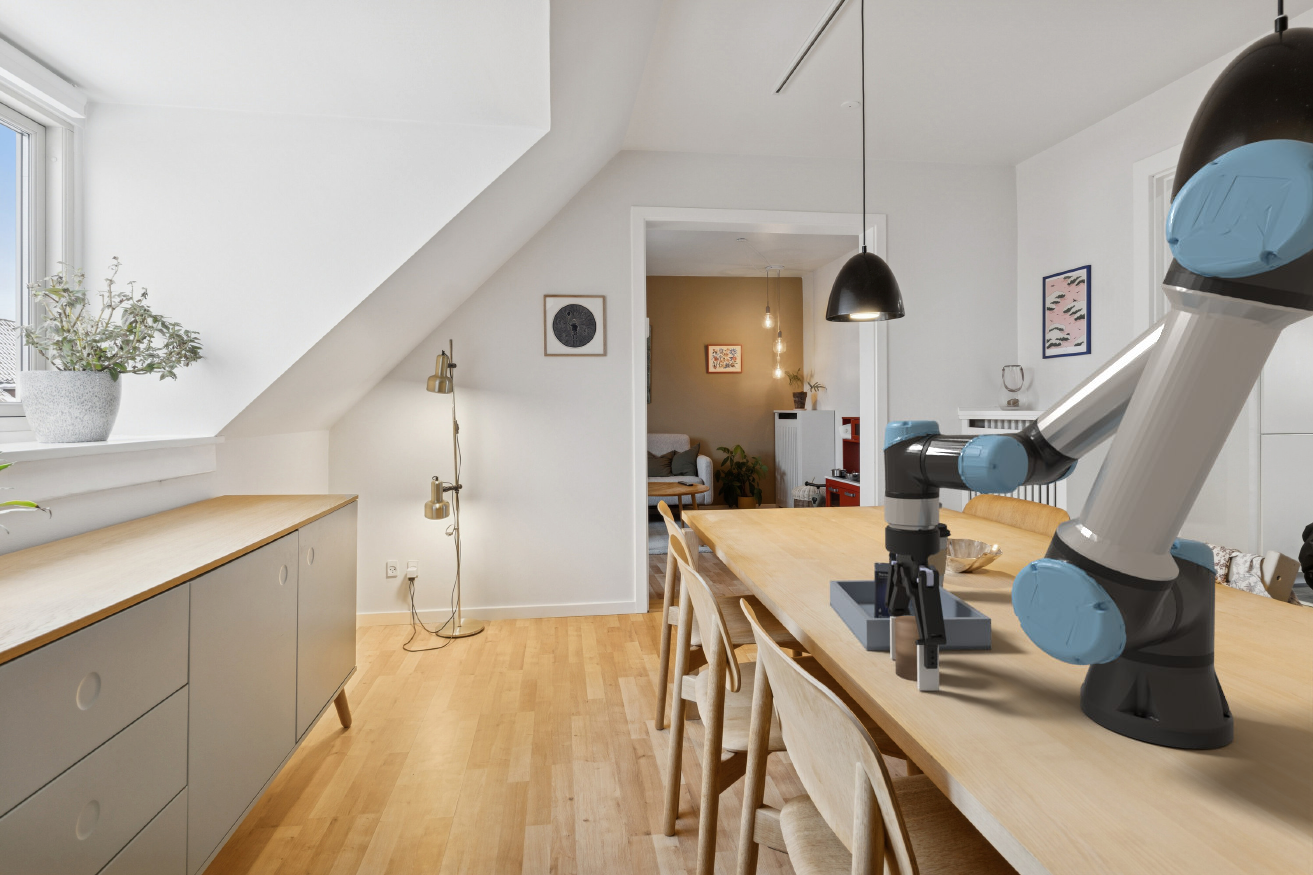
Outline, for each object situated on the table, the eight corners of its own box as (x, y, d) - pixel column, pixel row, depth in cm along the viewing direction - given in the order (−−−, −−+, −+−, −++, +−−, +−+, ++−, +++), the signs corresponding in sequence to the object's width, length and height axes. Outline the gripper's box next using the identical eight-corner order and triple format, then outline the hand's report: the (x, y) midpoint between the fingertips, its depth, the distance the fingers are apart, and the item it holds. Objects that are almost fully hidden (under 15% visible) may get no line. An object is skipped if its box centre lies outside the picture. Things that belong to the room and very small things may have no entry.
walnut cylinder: (937, 680, 95) (936, 625, 95) (901, 681, 95) (901, 626, 95) (924, 667, 100) (924, 615, 100) (891, 667, 100) (890, 615, 100)
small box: (874, 628, 117) (873, 569, 116) (873, 617, 123) (873, 561, 123) (939, 633, 114) (938, 572, 113) (935, 621, 120) (934, 564, 120)
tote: (991, 649, 107) (991, 618, 107) (866, 650, 108) (866, 620, 108) (930, 603, 133) (929, 579, 133) (830, 605, 134) (829, 580, 134)
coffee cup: (942, 588, 144) (942, 520, 144) (958, 600, 135) (957, 527, 134) (898, 588, 145) (897, 520, 145) (910, 600, 136) (909, 528, 135)
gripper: (973, 539, 85) (974, 707, 86) (909, 513, 109) (910, 644, 109) (914, 540, 85) (916, 707, 86) (863, 513, 109) (865, 645, 110)
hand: (913, 672), depth 98 cm, fingers open, 11 cm apart
